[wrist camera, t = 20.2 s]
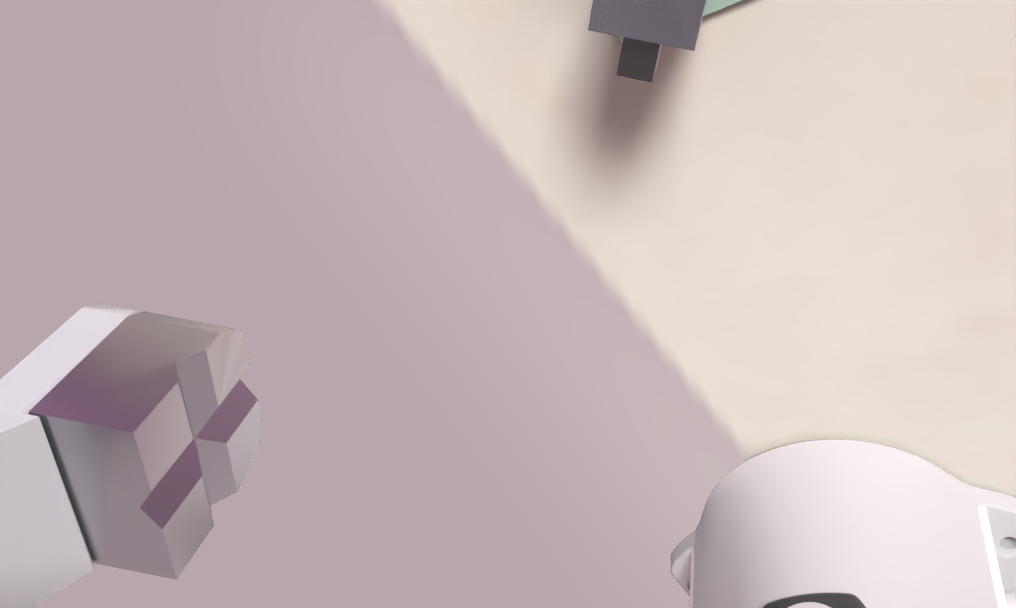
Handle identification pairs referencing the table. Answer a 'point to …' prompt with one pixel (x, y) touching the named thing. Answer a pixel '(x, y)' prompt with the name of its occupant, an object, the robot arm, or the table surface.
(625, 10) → the grey tabbed block
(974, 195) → the table surface
